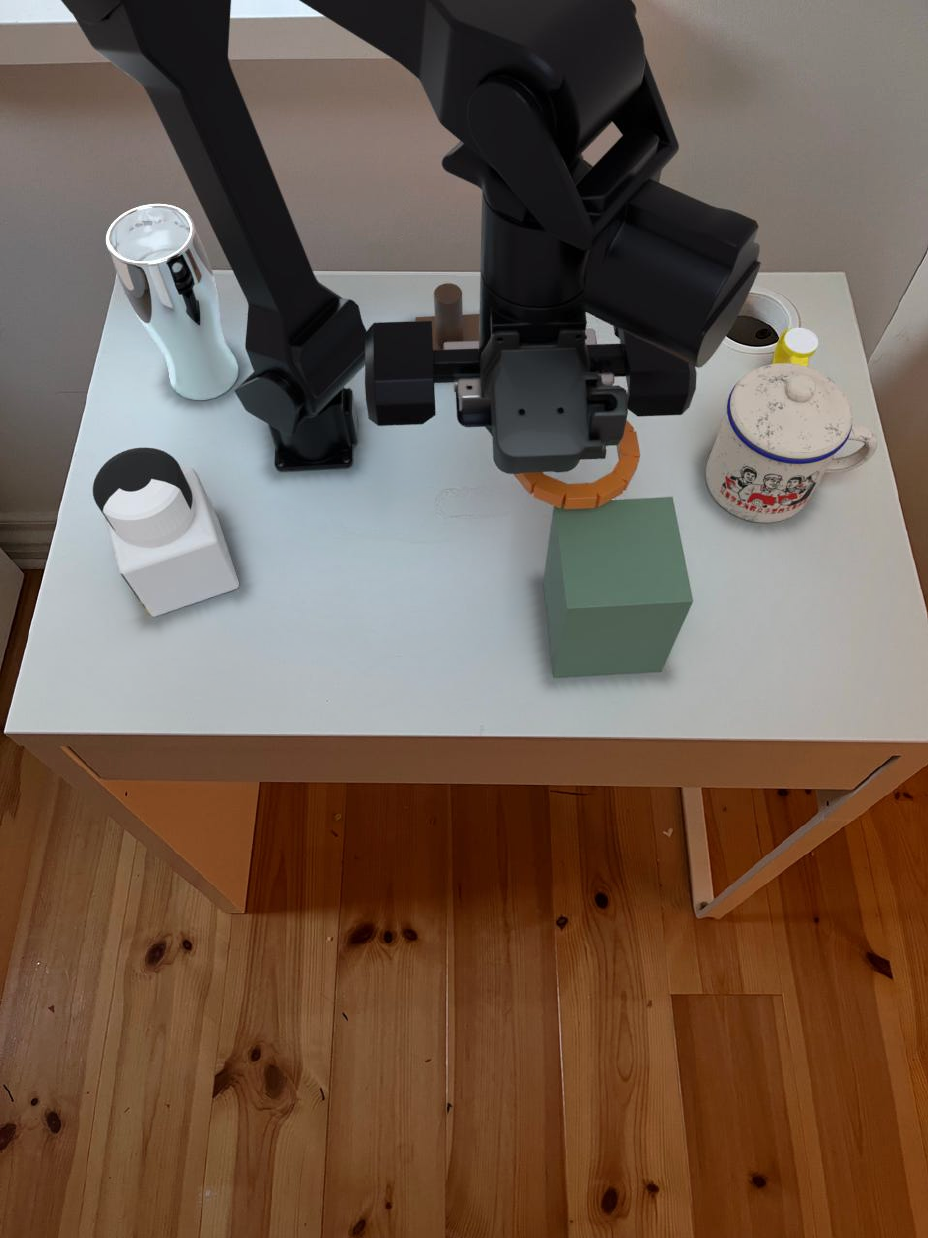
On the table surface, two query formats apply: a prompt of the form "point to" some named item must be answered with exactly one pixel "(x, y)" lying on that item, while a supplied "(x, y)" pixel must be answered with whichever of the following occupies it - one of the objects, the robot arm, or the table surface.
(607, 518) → the block
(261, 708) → the table surface
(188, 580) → the medicine bottle
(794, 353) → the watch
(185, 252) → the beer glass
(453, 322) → the stand
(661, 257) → the robot arm
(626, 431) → the ring
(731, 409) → the teacup with lid
